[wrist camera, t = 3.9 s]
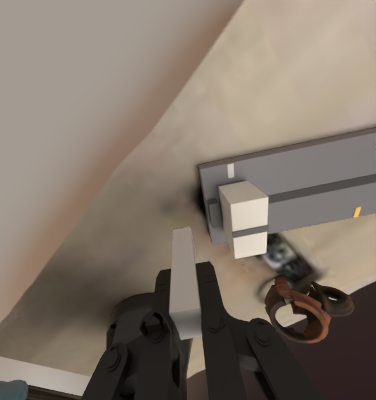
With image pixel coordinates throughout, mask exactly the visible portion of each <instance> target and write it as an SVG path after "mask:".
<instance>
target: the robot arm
mask: <svg viewBox="0 0 376 400" xmlns="http://www.w3.org/2000/svg"><path fill="white" fill-rule="evenodd" d="M155 286H156V287H155V293H154V294H144V295H138V296H134V297H131V298H129V299H126V300H124V301H123V302H121V303H120V304H119V305H117V306H116V308H115V309H114V310H113V312H112V315H111V318H110V321H109V324H108V328H107V339H106V351H105V352H104V354H103V355H102V357H101V359H100V361H99V363H98V365H97V367H96V369H95V371H94V373H93V375H92V377H91V379H90V381H89V383H88V385H87V387H86V390H85V391H84V394H83V396H78V395H73V394H69V393H64V392H59V391H55V390H50V389H45V388H41V387H36V386H31V385H28V384H27V383H26V382H25V381H22V380H13V381H11V382H4V381H0V400H187V369H188V364H189V358H190V352H191V347H192V341H193V338H196V337H202V340H203V349H204V358H205V367H206V376H207V385H208V394H209V400H247V396H246V392H245V389H244V385H243V380H242V376H241V372H240V368H239V367H241V368H244V369H248V370H250V371H252V372H253V374H254V376H255V378H256V380H257V382H258V384H259V386H260V388H261V391H262V393H263V395H264V397H265V399H266V400H325V399H324V398H323V396H322V395H321V394H320V392H319V391H318V389H317V388H316V386H315V385H314V384H313V382H312V381H311V379H310V378H309V377H308V375H307V374H306V372H305V371H304V369H303V368H302V366H301V365H300V364H299V362H298V361H297V359H296V358H295V356H294V355H293V354H292V352H291V351H290V349H289V348H288V347H287V345H286V344H285V342H284V341H283V339H282V338H281V336H280V335H279V334H278V332H277V331H276V329H275V328H274V327H273V326H272V325H271V324H270V323H269V322H268V321H266V320H264V319H261V318H255V319H252V320H251V321H250V322H248V321H243V320H238V319H236V318H233V317H232V316H230V315H229V314H228V313H227V311H226V310H225V308H224V306H223V302H222V298H221V294H220V290H219V286H218V282H217V278H216V274H215V270H214V267H213V265H212V264H211V263H210V261H208V262H203V263H197V257H196V250H195V245H194V241H193V237H192V232H191V228H190V227H186V228H180V229H175V230H173V243H172V264H171V269H167V270H162V271H160V272H159V274H158V276H157V278H156V285H155Z"/></svg>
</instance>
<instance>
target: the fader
mask: <svg viewBox="0 0 376 400" xmlns="http://www.w3.org/2000/svg"><path fill="white" fill-rule="evenodd" d="M218 187H219V196H220V205H221V214H222V222H223V231H224V235H225V237H226V239H227V242H228V244H229V246H230V248H231V251H232V253H233V255H234V258H235V259H237V258H242V257H247V256H253V255H258V254H263V253H266V245H267V232H268V231H269V225H268V224H267V220H268V196H267V195H265V194H264V193H263V192H262V191H260V190H259V189H258V188H256V187H255V186H254V185H253V184H251V183H250V182H249V181H243V182H238V183H233V184H228V185H223V186H218Z"/></svg>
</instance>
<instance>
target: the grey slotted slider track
mask: <svg viewBox="0 0 376 400" xmlns="http://www.w3.org/2000/svg"><path fill="white" fill-rule="evenodd" d="M198 169H199V175H200V181H201V187H202V193H203V199H204V205H205V211H206V217H207V223H208V229H209V235H210V238H211V242H212V245H215V244H220V243H225V242H227V239H226V237H225V235H224V231H223V222H222V214H221V205H220V196H219V187H218V186H223V185H228V184H233V183H238V182H243V181H249V182H250V183H251V184H253V185H254V186H255V187H256V188H258V189H259V190H260V191H262V192H263V193H264V194H265V195H267V196H268V220H267V224H268V225H269V231H268V232H267V234H271V233H276V232H281V231H287V230H292V229H297V228H302V227H307V226H312V225H317V224H322V223H328V222H333V221H338V220H343V219H348V218H353V217H358V216H363V215H369V214H374V213H376V127H375V128H371V129H366V130H361V131H356V132H351V133H347V134H342V135H337V136H332V137H328V138H323V139H318V140H313V141H308V142H304V143H299V144H294V145H289V146H285V147H280V148H275V149H270V150H266V151H261V152H256V153H251V154H246V155H242V156H237V157H232V158H227V159H223V160H218V161H213V162H208V163H203V164H199V165H198Z"/></svg>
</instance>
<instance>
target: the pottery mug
mask: <svg viewBox="0 0 376 400" xmlns="http://www.w3.org/2000/svg"><path fill="white" fill-rule="evenodd" d="M274 282H275V285H272V286H271V288H270V290H269V291H268V293H267V295H266V298H265V304H266V307H265V309H266V312H267V314H268V316H269V317H270V320H271V323H272V325H273V326H274V328H275V329H276V330H277V331H278V332H279V333H280V334H281V335H283V336H284V337H286V338H288V339H290V340H292V341H295V342H299V343H315V342H319V341H321V339H324V338H325V337H326V335H327V333H328V325H329V322H330V319H331V317H335V316H347V315H349V314H351V313H352V312H353V309H354V305H353V303H352V300H351V298H350V296H349V295H347V294H345V293H344V292H342V291H340V290H338V289H336V288H332V287H328V286H321V285H319V284H317V283H315V282H311V284H312V285H313V287H314V288H313V287H310V293H309V295H308V296H307V295H305V294H303V293H300V292H298V291H295V290H290V289H289V286H288V284H287V282H288V280H287V279H286V277H276V279H275V281H274ZM315 290H316V291H315ZM328 297H331V298H334V299H337V300H331V299H329V298H328ZM284 298H292V299H293V301H294V302H291V306H292V309H293V314H301V315H306V316H307V319H308V326H306V327H305V330H304V333H305V334H303V333H299V332H297V331H295V330H294V329H293V328H286V327H283V326H281V325H280V324H279V323H278V321H277V320H276V318H275V314H276V311H277V310H278V309H279V308H280V307H282V306H285V305H287V304H286V302H285V300H284Z"/></svg>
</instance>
